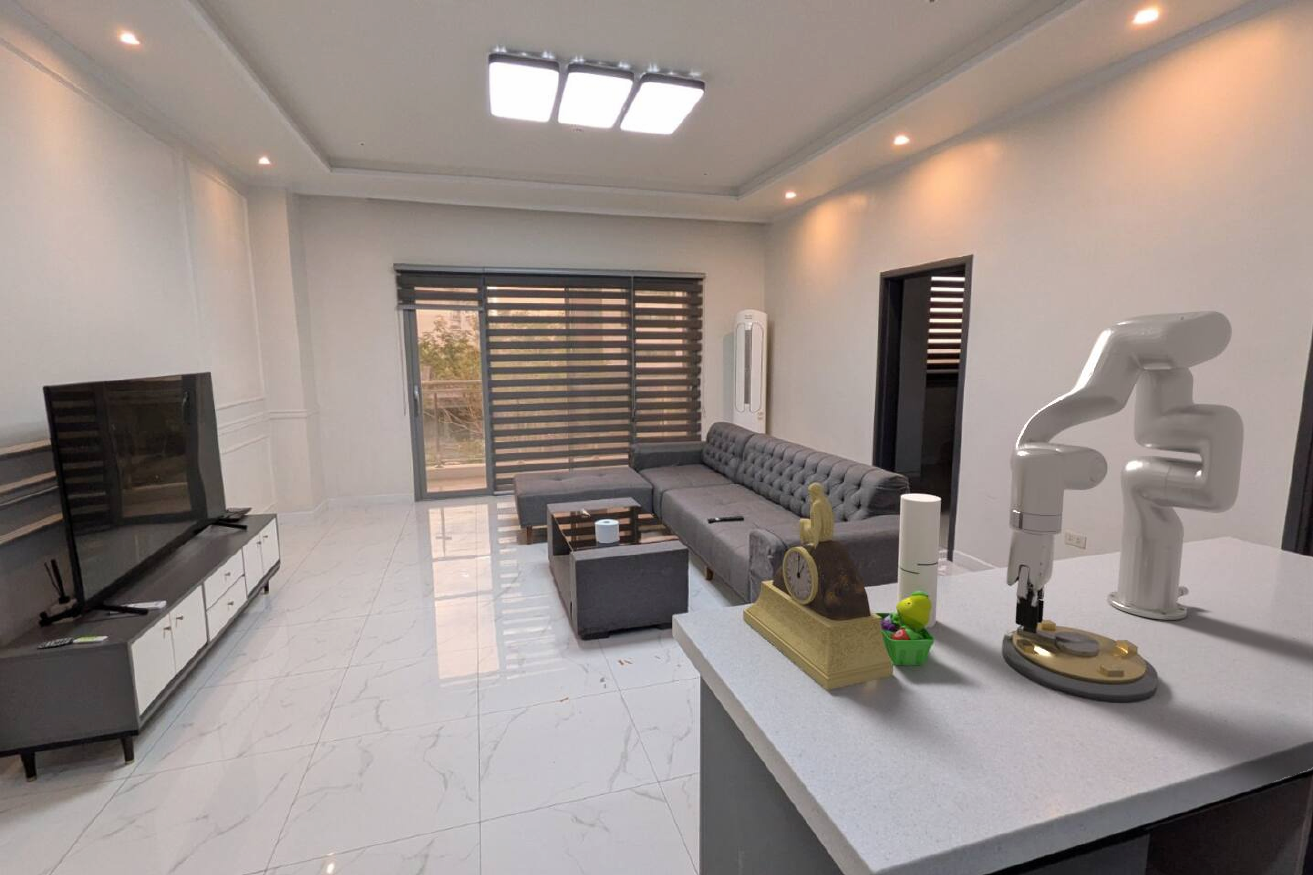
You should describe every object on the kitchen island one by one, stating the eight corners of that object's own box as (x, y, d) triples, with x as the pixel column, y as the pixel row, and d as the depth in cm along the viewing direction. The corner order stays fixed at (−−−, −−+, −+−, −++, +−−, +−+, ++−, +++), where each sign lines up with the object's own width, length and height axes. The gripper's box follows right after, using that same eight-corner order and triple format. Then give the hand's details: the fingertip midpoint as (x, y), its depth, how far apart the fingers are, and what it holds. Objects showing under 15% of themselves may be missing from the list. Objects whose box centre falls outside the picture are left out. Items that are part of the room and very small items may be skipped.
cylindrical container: (939, 629, 113) (945, 502, 110) (900, 626, 114) (905, 501, 111) (930, 613, 120) (935, 494, 117) (893, 611, 121) (897, 493, 118)
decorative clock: (743, 619, 119) (743, 474, 115) (797, 610, 123) (799, 469, 119) (826, 690, 92) (830, 505, 89) (892, 675, 97) (899, 497, 93)
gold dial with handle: (992, 630, 107) (994, 586, 106) (1093, 631, 106) (1097, 587, 105) (1053, 683, 89) (1057, 631, 88) (1176, 684, 88) (1181, 632, 87)
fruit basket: (867, 638, 110) (868, 580, 108) (915, 638, 109) (917, 580, 108) (889, 669, 98) (891, 605, 97) (942, 669, 98) (945, 605, 97)
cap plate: (1059, 631, 111) (1060, 618, 111) (1189, 687, 91) (1191, 671, 91) (973, 649, 104) (974, 635, 104) (1094, 714, 85) (1095, 697, 84)
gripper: (1023, 508, 108) (1018, 603, 111) (995, 526, 97) (990, 631, 100) (1072, 515, 103) (1065, 615, 105) (1048, 534, 92) (1041, 645, 94)
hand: (1028, 622), depth 102 cm, fingers open, 2 cm apart
